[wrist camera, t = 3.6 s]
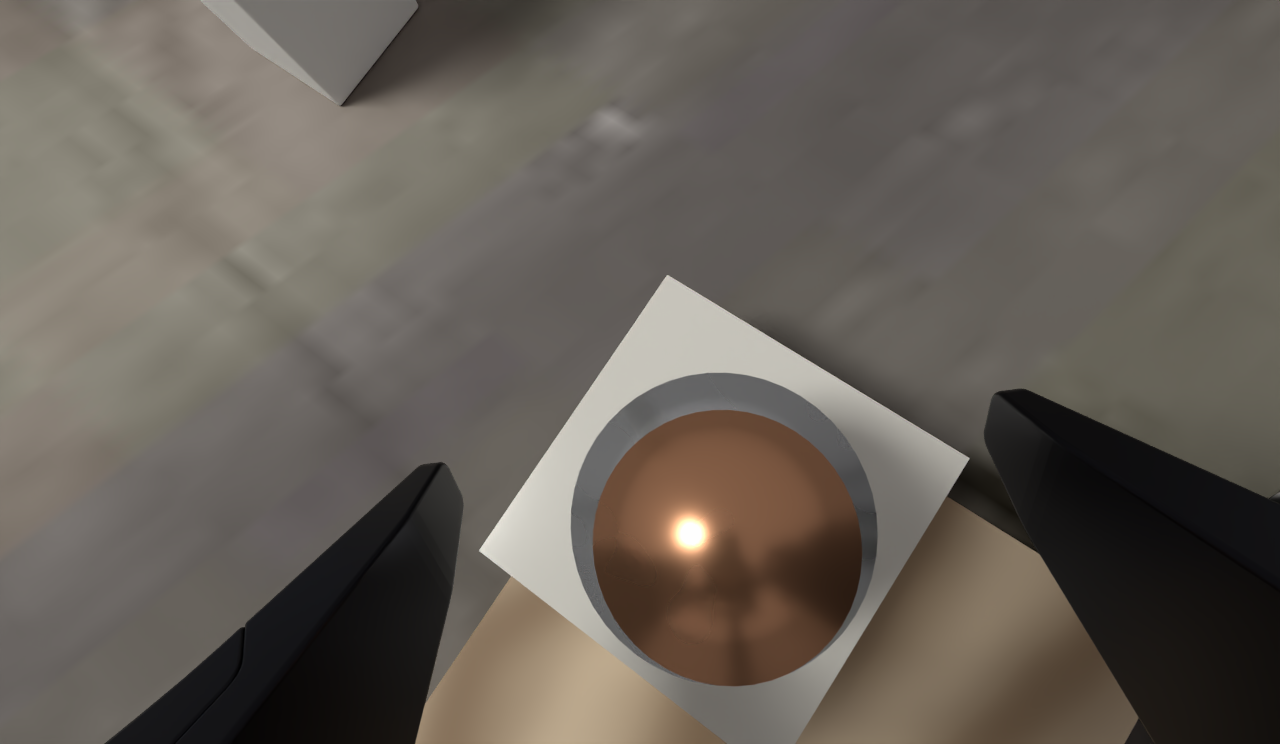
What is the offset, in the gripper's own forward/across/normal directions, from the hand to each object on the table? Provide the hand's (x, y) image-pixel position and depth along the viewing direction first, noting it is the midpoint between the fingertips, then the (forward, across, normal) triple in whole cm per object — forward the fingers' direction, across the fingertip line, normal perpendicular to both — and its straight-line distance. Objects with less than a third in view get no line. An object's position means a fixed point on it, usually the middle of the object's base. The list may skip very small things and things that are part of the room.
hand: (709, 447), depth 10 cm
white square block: (+7, 0, +9) cm, 12 cm away
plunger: (+4, 0, +6) cm, 7 cm away
